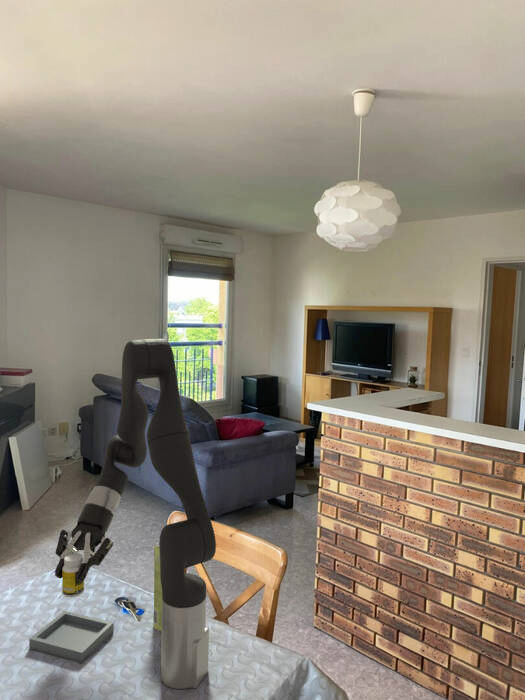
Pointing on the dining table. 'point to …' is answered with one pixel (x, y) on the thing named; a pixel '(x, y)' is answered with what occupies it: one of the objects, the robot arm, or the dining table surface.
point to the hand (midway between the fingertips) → (68, 579)
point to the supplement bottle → (71, 576)
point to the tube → (157, 591)
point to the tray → (71, 636)
